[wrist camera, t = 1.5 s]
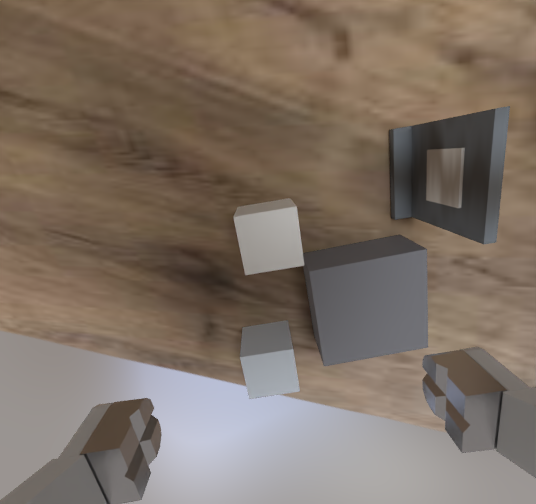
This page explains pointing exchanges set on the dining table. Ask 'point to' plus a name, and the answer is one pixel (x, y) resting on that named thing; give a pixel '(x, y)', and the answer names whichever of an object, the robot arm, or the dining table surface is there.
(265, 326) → the grey blue cube
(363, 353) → the base block
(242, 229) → the ivory cube
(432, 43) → the dining table surface
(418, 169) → the standing grey panel
